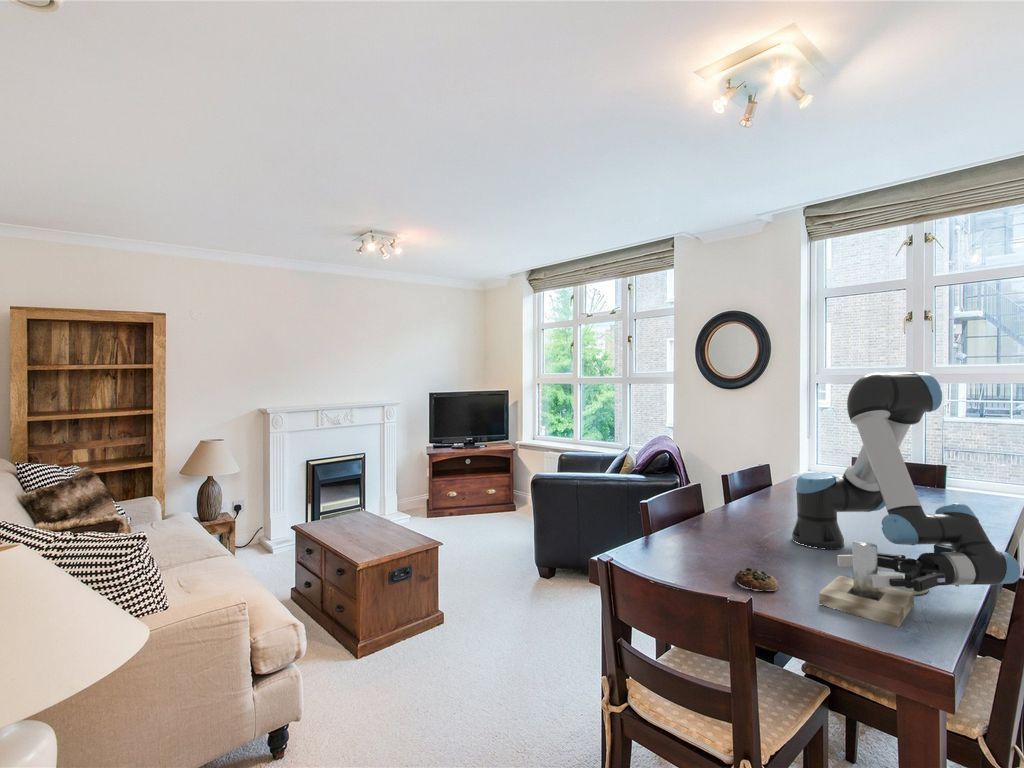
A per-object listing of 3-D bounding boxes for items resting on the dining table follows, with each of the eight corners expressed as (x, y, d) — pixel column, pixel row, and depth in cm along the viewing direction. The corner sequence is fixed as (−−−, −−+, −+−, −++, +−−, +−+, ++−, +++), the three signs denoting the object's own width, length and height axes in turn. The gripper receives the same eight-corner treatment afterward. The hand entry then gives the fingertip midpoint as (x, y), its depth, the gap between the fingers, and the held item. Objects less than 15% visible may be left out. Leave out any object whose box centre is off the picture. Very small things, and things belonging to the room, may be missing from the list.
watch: (959, 560, 152) (958, 524, 152) (927, 553, 159) (926, 518, 159) (967, 556, 154) (966, 521, 154) (934, 549, 161) (933, 515, 161)
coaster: (857, 584, 137) (857, 581, 137) (871, 570, 146) (871, 567, 146) (923, 599, 126) (923, 596, 126) (933, 583, 136) (933, 580, 136)
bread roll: (727, 585, 139) (728, 566, 139) (743, 579, 146) (744, 561, 147) (770, 598, 131) (771, 578, 131) (784, 591, 138) (786, 572, 139)
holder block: (819, 605, 125) (818, 593, 125) (839, 586, 136) (838, 575, 136) (899, 627, 113) (898, 613, 113) (913, 604, 124) (913, 592, 124)
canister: (851, 605, 125) (849, 544, 125) (857, 598, 128) (855, 540, 128) (875, 611, 121) (874, 549, 121) (881, 604, 124) (879, 544, 124)
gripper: (990, 606, 111) (891, 608, 112) (906, 565, 136) (826, 567, 137) (989, 572, 111) (890, 574, 112) (905, 537, 136) (825, 539, 137)
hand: (854, 570), depth 124 cm, fingers open, 13 cm apart
